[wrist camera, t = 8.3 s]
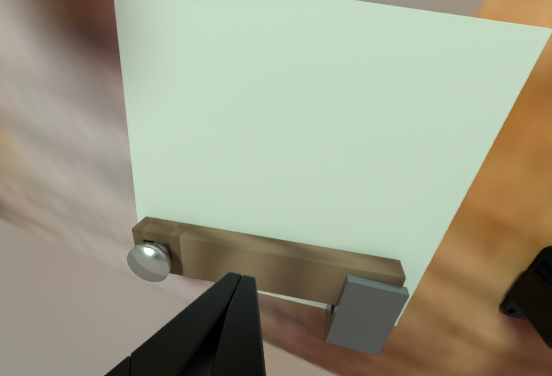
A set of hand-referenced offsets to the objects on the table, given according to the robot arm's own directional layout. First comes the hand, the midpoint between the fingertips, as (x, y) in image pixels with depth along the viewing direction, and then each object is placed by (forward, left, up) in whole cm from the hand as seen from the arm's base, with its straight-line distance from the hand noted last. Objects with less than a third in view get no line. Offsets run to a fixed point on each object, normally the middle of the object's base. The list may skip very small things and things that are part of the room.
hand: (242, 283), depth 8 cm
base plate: (0, +2, -12) cm, 12 cm away
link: (+1, +8, -11) cm, 14 cm away
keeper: (-7, +10, -12) cm, 17 cm away
